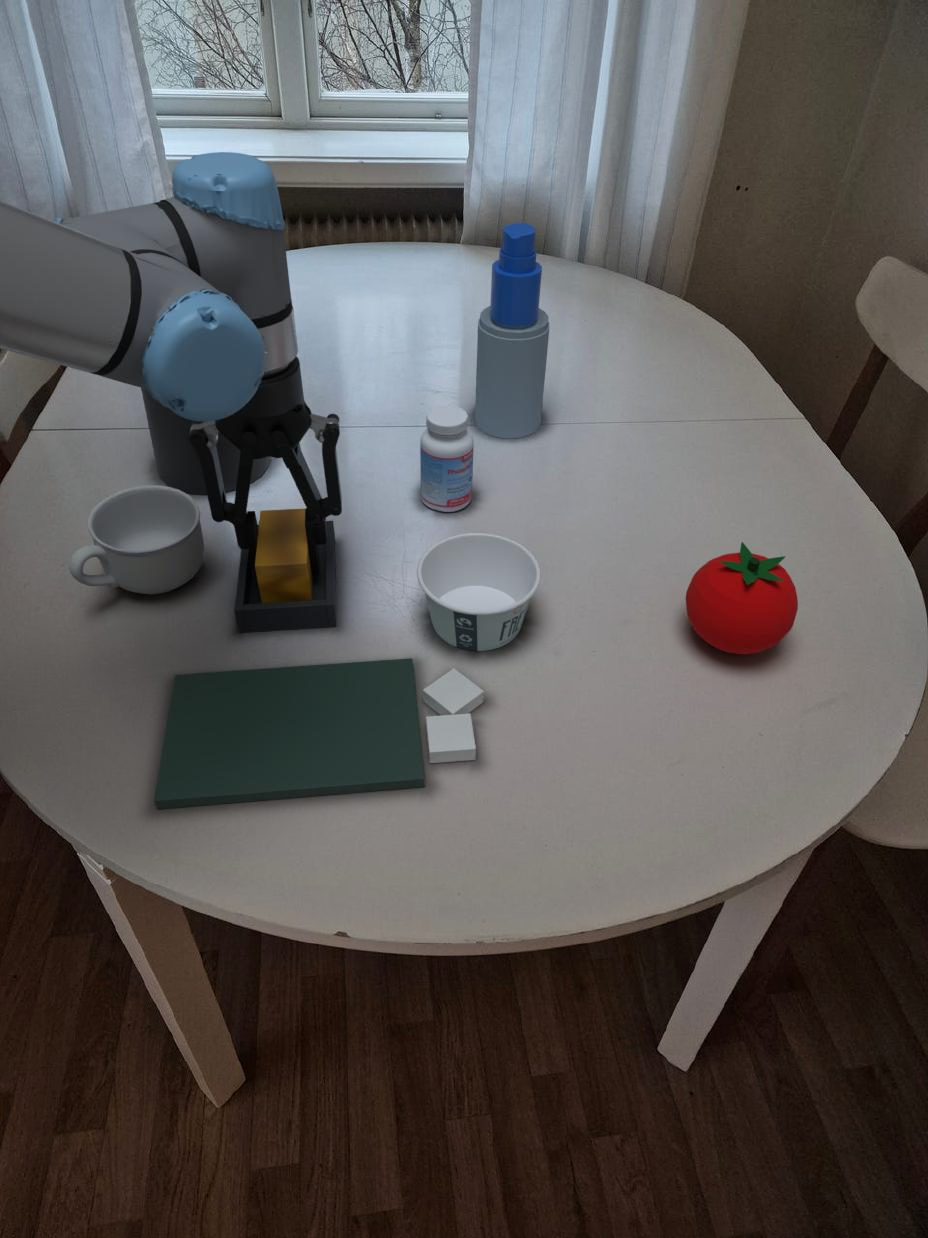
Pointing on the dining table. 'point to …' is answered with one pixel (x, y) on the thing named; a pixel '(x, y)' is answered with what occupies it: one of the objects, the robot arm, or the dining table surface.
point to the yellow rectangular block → (283, 557)
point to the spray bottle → (512, 341)
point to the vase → (189, 452)
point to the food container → (478, 589)
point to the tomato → (742, 602)
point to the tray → (288, 614)
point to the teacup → (143, 540)
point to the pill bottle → (446, 459)
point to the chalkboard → (290, 733)
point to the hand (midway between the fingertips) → (287, 567)
